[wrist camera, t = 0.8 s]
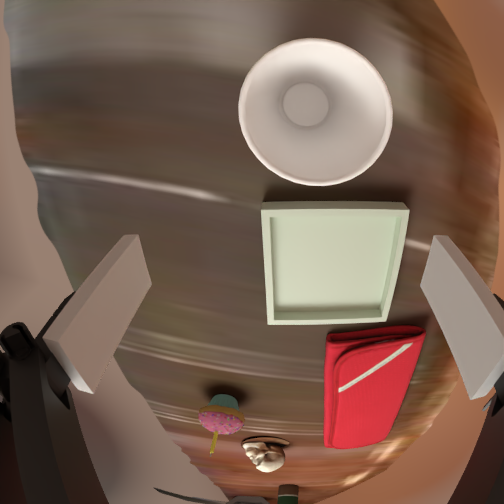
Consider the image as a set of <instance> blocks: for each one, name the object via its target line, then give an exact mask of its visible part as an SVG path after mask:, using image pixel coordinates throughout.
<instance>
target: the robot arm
mask: <svg viewBox="0 0 504 504" xmlns="http://www.w3.org/2000/svg"><path fill="white" fill-rule="evenodd" d="M151 284H152V283H151V280H150V276H149V273H148V269H147V266H146V262H145V258H144V255H143V251H142V247H141V243H140V239H139V235H124V236H123V237H122V238H121V239H120V240H119V241H118V242H117V244H116V245H115V246H114V247H113V248H112V249H111V250H110V252H109V253H108V254H107V255H106V256H105V257H104V259H103V260H102V261H101V262H100V263H99V264H98V266H97V267H96V268H95V269H94V270H93V272H92V273H91V274H90V275H89V276H88V278H87V279H86V280H85V281H84V283H83V284H82V285H81V286H80V288H79V289H78V290H77V291H76V292H75V291H74V292H73V293H72V294H71V295H69V296H68V297H67V298H65V299H64V301H63V302H62V303H61V304H60V306H59V307H58V309H57V310H56V311H55V312H54V314H53V316H51V318H50V319H49V320H48V322H47V323H46V325H45V326H44V327H43V329H42V330H41V331H40V333H39V334H38V335H37V337H36V338H35V339H34V338H33V336H32V335H31V333H30V331H29V330H28V328H27V326H26V325H25V324H24V323H22V322H16V323H13V324H11V325H9V326H7V327H6V328H5V329H4V330H3V331H2V333H1V334H0V345H1V347H2V348H3V350H4V351H5V353H2V352H1V350H0V395H1V396H2V397H3V401H2V403H1V402H0V504H109V503H108V501H107V498H106V496H105V494H104V491H103V489H102V487H101V484H100V482H99V480H98V477H97V474H96V472H95V469H94V467H93V464H92V461H91V458H90V456H89V453H88V450H87V447H86V444H85V441H84V438H83V435H82V432H81V428H80V424H79V421H78V417H77V414H76V410H75V406H74V402H73V398H72V394H71V391H70V389H69V388H68V384H69V382H70V380H71V381H72V382H73V384H74V385H75V386H76V387H77V389H78V390H81V391H85V392H89V393H92V394H94V393H95V390H96V388H97V386H98V384H99V382H100V380H101V378H102V376H103V374H104V372H105V370H106V368H107V366H108V364H109V362H110V360H111V358H112V356H113V354H114V352H115V350H116V348H117V346H118V345H119V343H120V341H121V339H122V337H123V335H124V333H125V331H126V329H127V328H128V326H129V324H130V322H131V320H132V318H133V317H134V315H135V313H136V311H137V309H138V307H139V306H140V304H141V302H142V300H143V299H144V297H145V295H146V293H147V291H148V290H149V288H150V286H151ZM420 287H421V288H422V290H423V292H424V294H425V296H426V298H427V300H428V302H429V304H430V306H431V308H432V310H433V312H434V314H435V316H436V318H437V320H438V323H439V325H440V327H441V329H442V331H443V333H444V336H445V338H446V340H447V342H448V345H449V347H450V349H451V352H452V354H453V356H454V359H455V361H456V364H457V366H458V369H459V371H460V374H461V376H462V379H463V381H464V384H465V387H466V390H467V392H468V395H469V398H470V400H472V399H476V398H479V397H483V396H486V395H487V393H488V392H489V391H490V390H491V388H492V387H493V386H494V387H495V389H496V393H495V395H494V396H493V397H492V398H491V399H490V400H489V401H488V403H487V404H486V405H485V406H484V408H483V411H485V410H486V409H487V408H488V406H490V407H489V410H488V412H487V416H486V419H485V422H484V425H483V428H482V431H481V433H480V436H479V438H478V441H477V443H476V446H475V448H474V451H473V453H472V455H471V458H470V460H469V462H468V464H467V467H466V469H465V471H464V473H463V475H462V477H461V479H460V481H459V483H458V485H457V487H456V489H455V491H454V493H453V495H452V496H451V498H450V500H449V502H448V504H504V301H503V300H502V299H501V298H499V297H498V296H497V295H496V294H492V292H491V291H490V289H489V288H488V287H487V285H486V284H485V282H484V281H483V280H482V278H481V277H480V276H479V274H478V273H477V272H476V270H475V269H474V268H473V266H472V265H471V264H470V263H469V261H468V260H467V259H466V257H465V256H464V255H463V254H462V252H461V251H460V250H459V249H458V248H457V246H456V245H455V244H454V243H453V242H452V240H451V239H450V238H449V237H448V236H444V235H434V237H433V241H432V245H431V249H430V253H429V256H428V260H427V264H426V267H425V271H424V274H423V278H422V281H421V284H420Z"/></svg>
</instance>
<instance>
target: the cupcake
mask: <svg viewBox="0 0 504 504" xmlns="http://www.w3.org/2000/svg"><path fill="white" fill-rule="evenodd" d="M244 421H245V419H244V415H243V413H241V412H240V411H239V408H238V402H237V400H236V399H235V398H234V397H232V396H230V395H226V394H218V395H215V396H214V397H213V398H212V400H211V401H210V403H209V404H208V405H207V406H205V407H203V408H201V409H200V410H199V422H201V425H202V426H203V427H205V428H206V429H207V430H210V431H211V432H213V433H214V437H213V441H212V445H211V449H210V453H211V454H212V453H213V452H214V448H215V444H216V440H217V436H218V434H226V435H227V434H232V433H234V432H237V431H239V430H241V428H242V427H243V426H244V425H243V424H244ZM211 454H210V457H211Z"/></svg>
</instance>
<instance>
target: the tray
mask: <svg viewBox="0 0 504 504" xmlns="http://www.w3.org/2000/svg"><path fill="white" fill-rule="evenodd" d="M409 211H410V210H409V209H408V208H407V206H406V205H405V204H404V203H403V202H375V201H283V202H262V207H261V218H262V233H263V250H264V266H265V283H266V300H267V318H268V325H309V324H345V323H367V322H385V321H386V320H387V316H388V312H389V309H390V305H391V301H392V297H393V293H394V289H395V285H396V280H397V276H398V271H399V267H400V262H401V257H402V252H403V247H404V241H405V236H406V230H407V224H408V217H409Z"/></svg>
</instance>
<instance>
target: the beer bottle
mask: <svg viewBox="0 0 504 504" xmlns="http://www.w3.org/2000/svg"><path fill="white" fill-rule="evenodd" d="M277 504H298V486H297V485H287V484H286V485H280V486H279V491H278V502H277Z"/></svg>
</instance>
